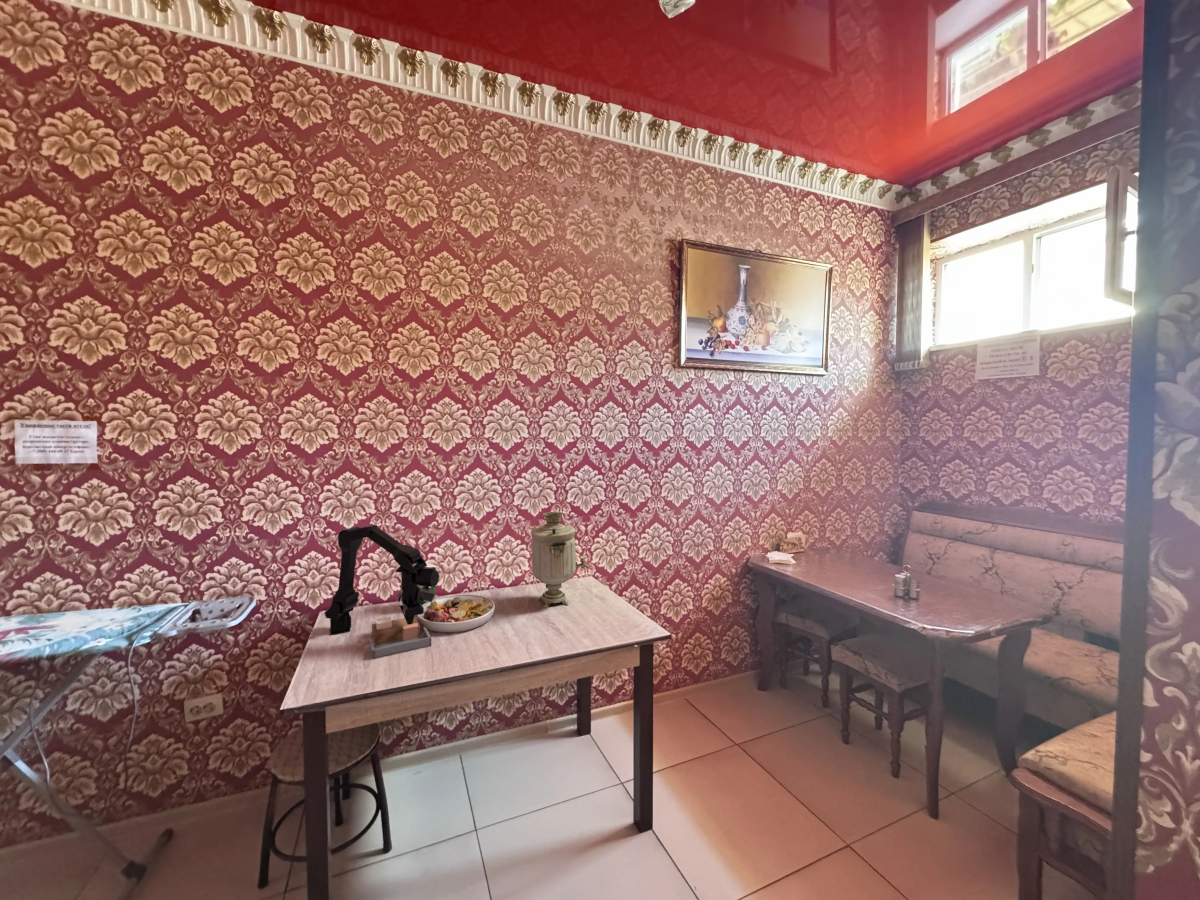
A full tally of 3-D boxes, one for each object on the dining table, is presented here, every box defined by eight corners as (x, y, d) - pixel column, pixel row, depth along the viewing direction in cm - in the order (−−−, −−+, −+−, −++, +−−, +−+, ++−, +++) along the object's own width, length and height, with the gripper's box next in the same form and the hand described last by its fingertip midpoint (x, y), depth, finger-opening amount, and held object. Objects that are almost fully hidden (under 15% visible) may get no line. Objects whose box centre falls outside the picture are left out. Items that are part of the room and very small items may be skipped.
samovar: (587, 616, 193) (588, 521, 191) (524, 615, 194) (525, 520, 192) (590, 591, 223) (591, 508, 221) (535, 590, 224) (536, 507, 221)
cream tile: (376, 629, 169) (376, 624, 169) (375, 624, 174) (375, 619, 173) (391, 626, 172) (391, 621, 172) (389, 621, 176) (389, 616, 176)
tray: (372, 659, 156) (372, 650, 156) (369, 647, 165) (368, 638, 164) (431, 646, 166) (431, 637, 166) (425, 635, 175) (425, 627, 174)
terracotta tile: (402, 637, 170) (403, 641, 168) (402, 625, 169) (403, 628, 167) (416, 634, 173) (417, 637, 171) (417, 622, 171) (418, 626, 170)
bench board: (375, 645, 166) (375, 634, 165) (372, 634, 174) (372, 624, 174) (419, 636, 174) (419, 625, 173) (414, 626, 182) (414, 616, 182)
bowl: (449, 601, 209) (449, 584, 208) (508, 611, 199) (508, 593, 198) (400, 628, 180) (399, 608, 180) (465, 641, 170) (465, 620, 170)
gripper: (438, 588, 166) (438, 631, 167) (427, 573, 182) (427, 612, 183) (405, 593, 161) (405, 638, 161) (396, 578, 176) (396, 618, 177)
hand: (410, 626), depth 171 cm, fingers closed
